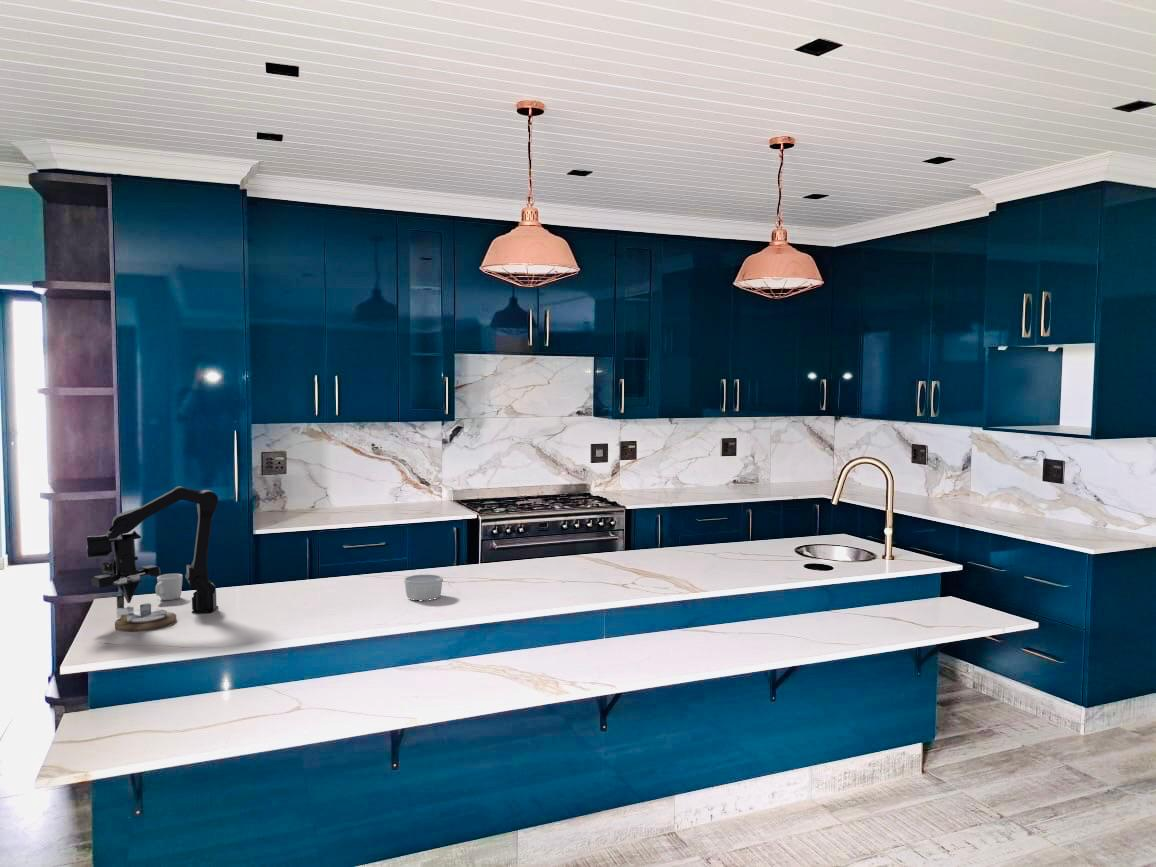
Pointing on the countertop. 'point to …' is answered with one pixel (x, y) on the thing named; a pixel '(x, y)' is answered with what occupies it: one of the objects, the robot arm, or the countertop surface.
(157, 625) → the plinth
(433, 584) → the ramekin
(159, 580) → the cup
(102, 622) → the countertop surface
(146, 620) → the light grey irregular piece
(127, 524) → the robot arm
